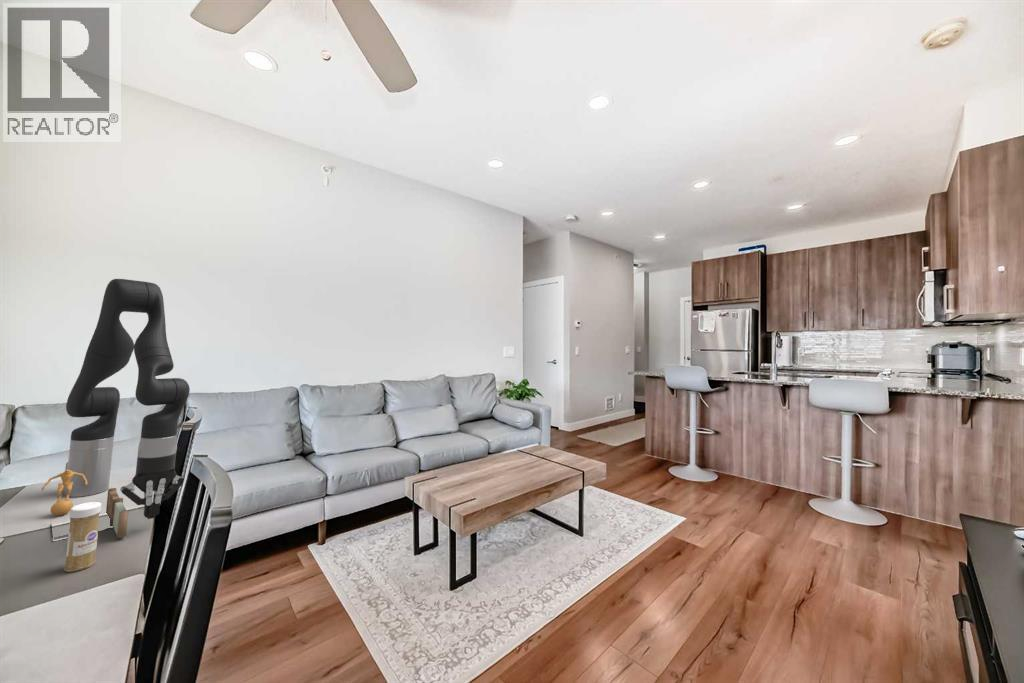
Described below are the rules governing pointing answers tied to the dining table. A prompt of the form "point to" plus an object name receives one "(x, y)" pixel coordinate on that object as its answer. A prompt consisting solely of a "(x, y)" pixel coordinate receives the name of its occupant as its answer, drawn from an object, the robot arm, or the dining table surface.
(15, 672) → the dining table surface
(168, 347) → the robot arm
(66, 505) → the figurine
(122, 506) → the swing panel
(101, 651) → the dining table surface
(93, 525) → the sprinkles bottle
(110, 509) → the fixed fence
